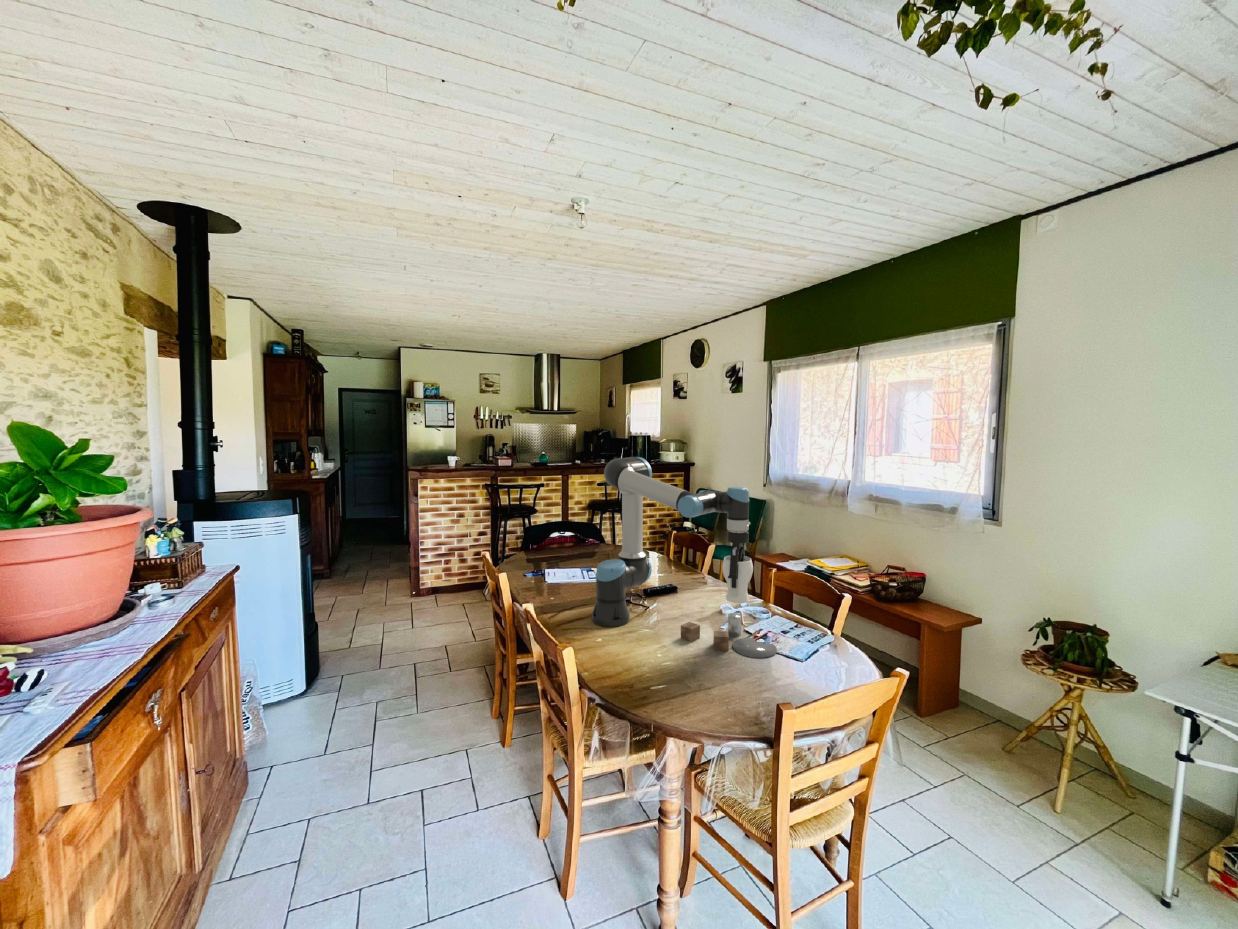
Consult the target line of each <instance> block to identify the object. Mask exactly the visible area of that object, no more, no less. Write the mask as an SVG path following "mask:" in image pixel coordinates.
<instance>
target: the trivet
mask: <svg viewBox="0 0 1238 929" xmlns="http://www.w3.org/2000/svg"><path fill="white" fill-rule="evenodd" d="M755 640H756V639H755ZM763 643H767V644H763ZM769 643H771V642H770V641H768V642H757V641H754V637H742V638H739V639H736V640H734V641H733V642H732V649H733V650H734V651H735V653H738V654H739V655H742V656H743V657H744V656H745V657H749V658H753V659H754V658H755V659H767V658H771V657H774V656H775V655H776V654H777V652H778V649H777V645H775V644H774V643H772V644H769Z"/></svg>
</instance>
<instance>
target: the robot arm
mask: <svg viewBox="0 0 1238 929" xmlns="http://www.w3.org/2000/svg"><path fill="white" fill-rule="evenodd" d="M652 471H653V470H652V467H651V465H650V463H649V462H648V461H647V460H646V459H645V458H644V457H640V456H629V457H619V458H613V459H611V460H610V461H609V462H607V464H606V465H605V467H604V470H603V476H604V479H605V481H606V483H607V485H609V486H611V487H612V488H613V489H614V488H615V489H617V490H618V491H619V492H620V494H622V495H621V500H622V501H621V505H622V506H621V509H622V510H621V517H622V520H621V523H622V524H621V525H622V526H621V531H622V532H621V533H622V534H621V535H622V536H621V537H622V538H621V539H622V540H621V541H622V542H621V546H622V547H621V551H620V552H619V553H618V558H610V559H606V560H603V561H600V563H598V564H597V566H596V572H595V582H596V583H595V588H596V589H595V592H596V593H595V594H596V595H595V598H596V600H595V604H594V607H593V610H592V613H591V622H592V623H593V624H595V625H597V626H601V627H607V628H611V627H612V628H614V627H621V626H623V625H627V624H628V623H629V622H630V617H631V616H630V612H629V608H628V606H627V605H628V604H627V603H626V591H627V590H629V589H632V588H636V587H639V586H641V585H644V583H646V582H647V581H648V580H649V579H650V577H651V576H652V572H653V570H652V564H651V562H650V560H649V559H648V558H647V553H646V552H645V551H644V550H643V548H644V546H643V543H644V542H643V541H644V540H643V535H644V534H643V533H644V532H643V528H644V527H643V526H644V524H643V523H644V522H643V521H644V516H643V514H644V508H643V507H644V502H643V501H644V498H645V499H649V500H652V501H653V502H656V503H659V504H661V505H664V506H666V507H669V508H672V509H673V510H676V511H678V512H679V514H680V515H681V516H682V517H685V518H687V519H688V518H696V517H699V516H701V515H702V516H703V515H707V514H711V513H723V514H726V530H727V531H726V541H727V542H728V543H731V544H732V546H731V548H730V550H729V551H730V556H731V557H730V571H729V576H728V578H730V596H731V597H739V578H738V566H739V565H738V562H743V557H744V556H746V551H745V550H746V549H745V544H747V543H749V542H750V541H749V540H750V539H749V536H750V533H749V529H750V528H749V526H750V525H751V524H752V523H751V522H750V520H749V519H750V517H749V516H750V493H749V492H750V491H749V489H748V488H747V487H745V486H729V487H728V488H727V489H726V491H716V490H709V489H708V490H699V491H698V493H693V492H690V491H689V490H686V489H682V488H680V487H677V486H675V485H671V484H669V483H666V482H663V481H661V480H658V479H655V478H653V477H652V476H653V472H652ZM732 574H735V575H732Z"/></svg>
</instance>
